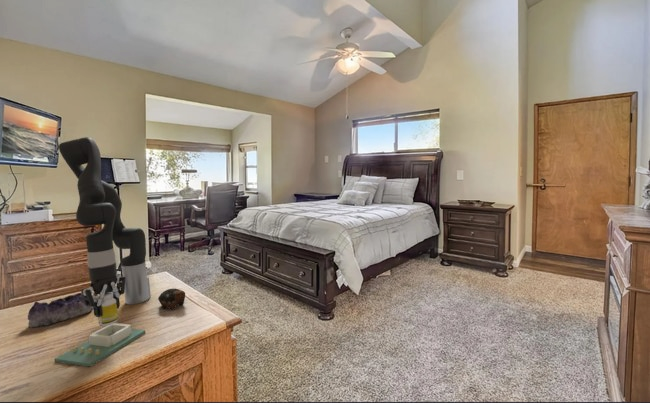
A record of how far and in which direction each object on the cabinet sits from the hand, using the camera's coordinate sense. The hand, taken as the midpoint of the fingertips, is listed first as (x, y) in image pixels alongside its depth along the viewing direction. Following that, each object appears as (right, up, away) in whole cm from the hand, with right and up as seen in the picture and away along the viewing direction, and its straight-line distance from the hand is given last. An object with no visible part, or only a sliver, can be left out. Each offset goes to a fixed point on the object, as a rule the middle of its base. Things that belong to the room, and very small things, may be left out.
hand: (107, 312), depth 105 cm
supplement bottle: (0, -4, 0) cm, 4 cm away
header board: (0, -11, -2) cm, 11 cm away
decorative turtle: (+8, -8, +28) cm, 30 cm away
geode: (-34, -11, +22) cm, 42 cm away
